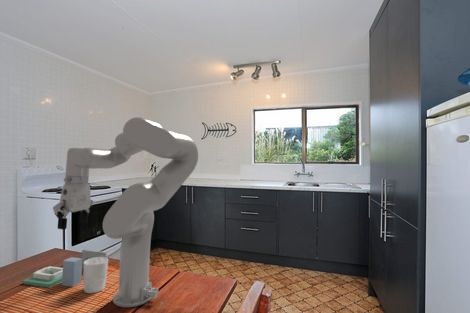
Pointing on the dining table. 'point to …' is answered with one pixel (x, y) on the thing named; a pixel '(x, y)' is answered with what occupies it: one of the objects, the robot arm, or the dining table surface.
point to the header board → (45, 277)
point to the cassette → (91, 255)
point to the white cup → (95, 274)
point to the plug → (72, 271)
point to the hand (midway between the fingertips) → (73, 225)
